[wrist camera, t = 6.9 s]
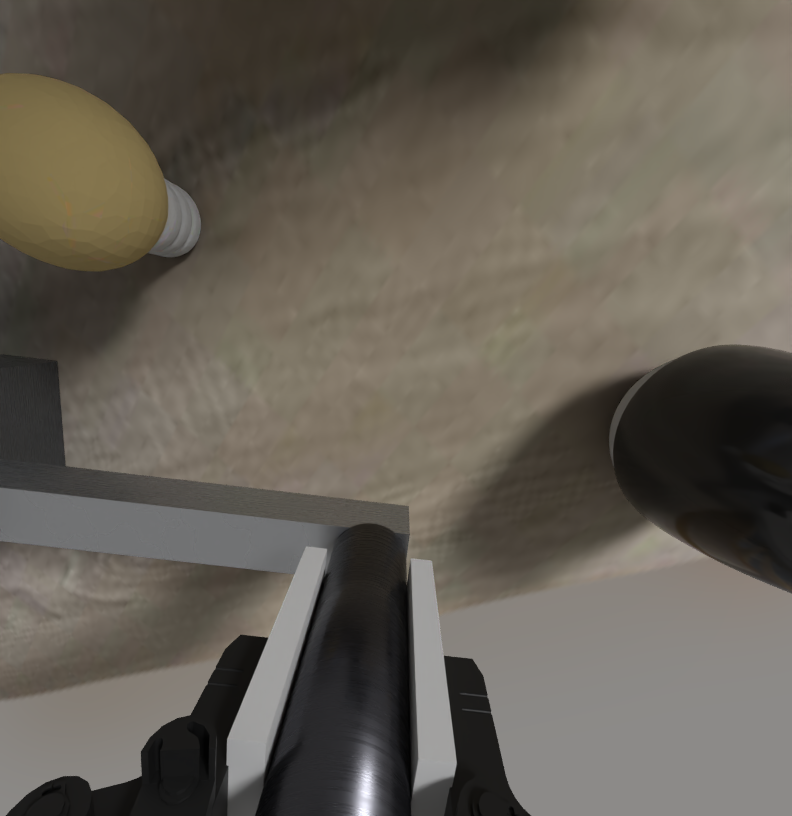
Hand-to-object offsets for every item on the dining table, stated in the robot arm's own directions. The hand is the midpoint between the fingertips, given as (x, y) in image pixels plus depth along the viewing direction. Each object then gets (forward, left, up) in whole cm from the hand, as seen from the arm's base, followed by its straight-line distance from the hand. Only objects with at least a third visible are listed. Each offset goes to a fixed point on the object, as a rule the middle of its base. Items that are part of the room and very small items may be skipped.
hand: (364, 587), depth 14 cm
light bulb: (-13, -13, -11) cm, 22 cm away
